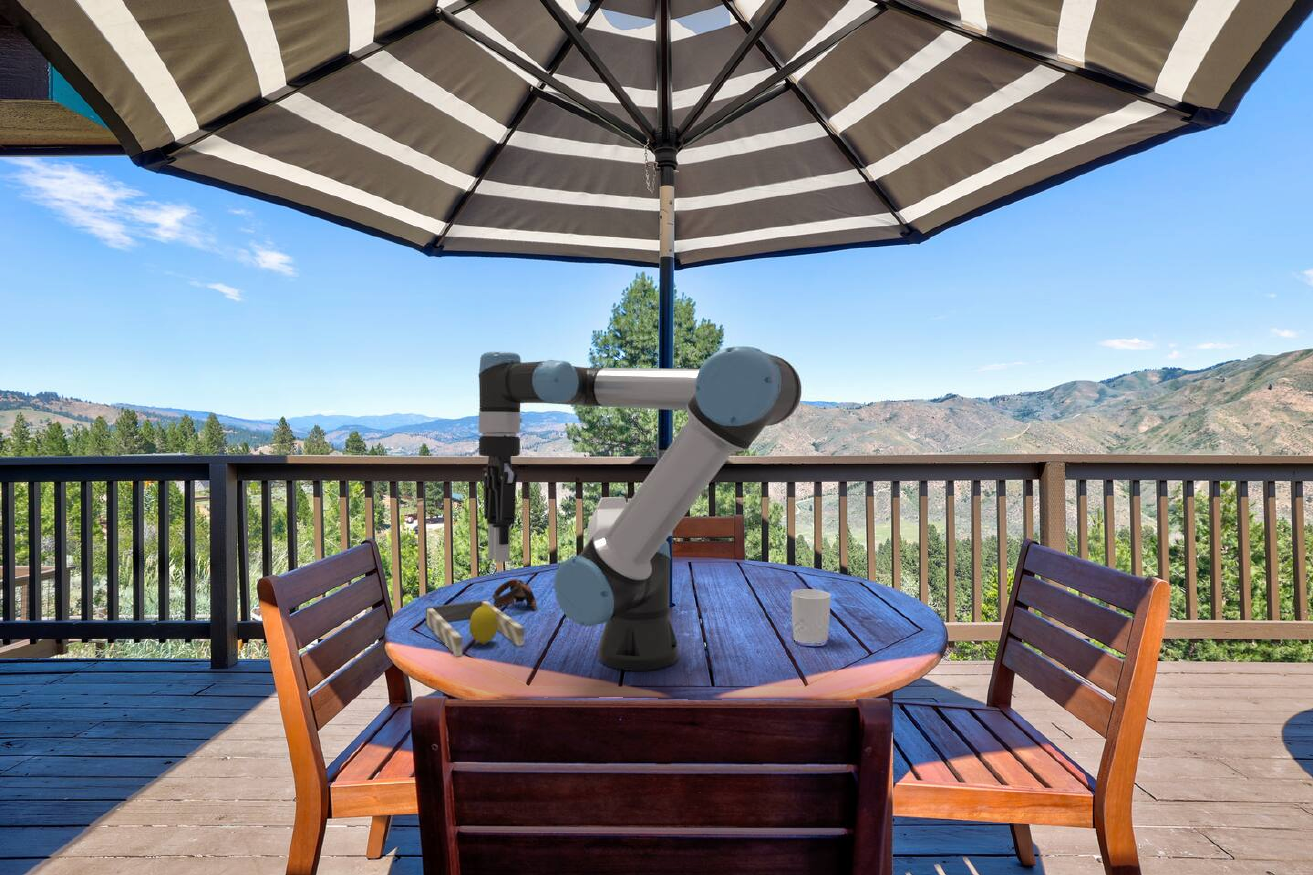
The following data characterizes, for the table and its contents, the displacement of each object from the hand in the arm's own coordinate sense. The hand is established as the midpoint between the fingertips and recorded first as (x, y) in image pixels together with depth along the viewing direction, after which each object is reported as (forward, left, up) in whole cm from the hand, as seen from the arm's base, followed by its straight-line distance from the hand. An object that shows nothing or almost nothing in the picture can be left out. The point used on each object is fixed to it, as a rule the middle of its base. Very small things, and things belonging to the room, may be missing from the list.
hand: (498, 559), depth 124 cm
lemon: (+9, 0, -19) cm, 21 cm away
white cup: (-23, -58, -19) cm, 65 cm away
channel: (+17, 0, -19) cm, 25 cm away
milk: (+28, -39, -19) cm, 52 cm away
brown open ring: (+31, -15, -19) cm, 39 cm away
